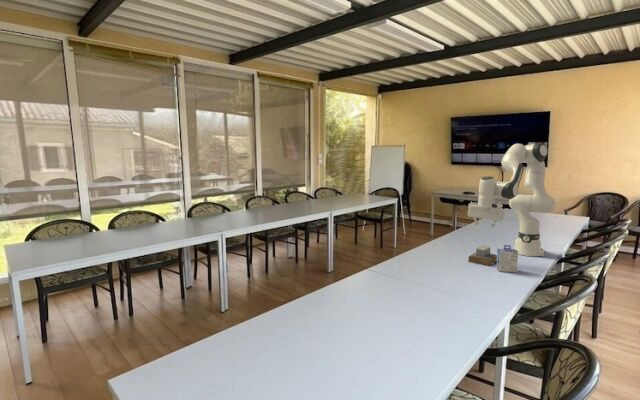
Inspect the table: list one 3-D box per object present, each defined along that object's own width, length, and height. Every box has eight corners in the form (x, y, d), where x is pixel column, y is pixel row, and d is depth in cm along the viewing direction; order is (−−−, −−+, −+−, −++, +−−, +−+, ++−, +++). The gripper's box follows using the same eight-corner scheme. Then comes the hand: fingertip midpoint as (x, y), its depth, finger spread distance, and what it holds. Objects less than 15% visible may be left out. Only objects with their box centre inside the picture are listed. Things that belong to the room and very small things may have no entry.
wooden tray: (476, 256, 225) (477, 250, 224) (496, 260, 216) (497, 254, 216) (468, 261, 215) (468, 255, 214) (488, 266, 206) (489, 259, 206)
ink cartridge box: (514, 269, 200) (516, 245, 198) (517, 272, 195) (519, 247, 193) (495, 268, 202) (497, 244, 200) (498, 271, 197) (500, 246, 195)
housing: (475, 255, 214) (476, 247, 213) (481, 252, 220) (482, 244, 219) (484, 257, 210) (484, 249, 209) (490, 254, 216) (490, 246, 216)
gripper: (466, 202, 215) (465, 224, 217) (502, 205, 201) (500, 229, 203) (470, 201, 220) (469, 222, 222) (505, 204, 206) (504, 227, 208)
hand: (484, 225), depth 212 cm, fingers open, 8 cm apart
